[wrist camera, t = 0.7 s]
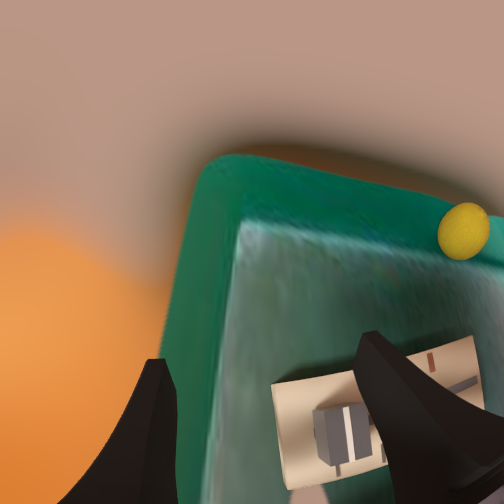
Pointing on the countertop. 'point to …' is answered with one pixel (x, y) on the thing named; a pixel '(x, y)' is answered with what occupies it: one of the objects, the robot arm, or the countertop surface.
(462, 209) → the lemon
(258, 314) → the countertop surface
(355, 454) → the fader
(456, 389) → the console
